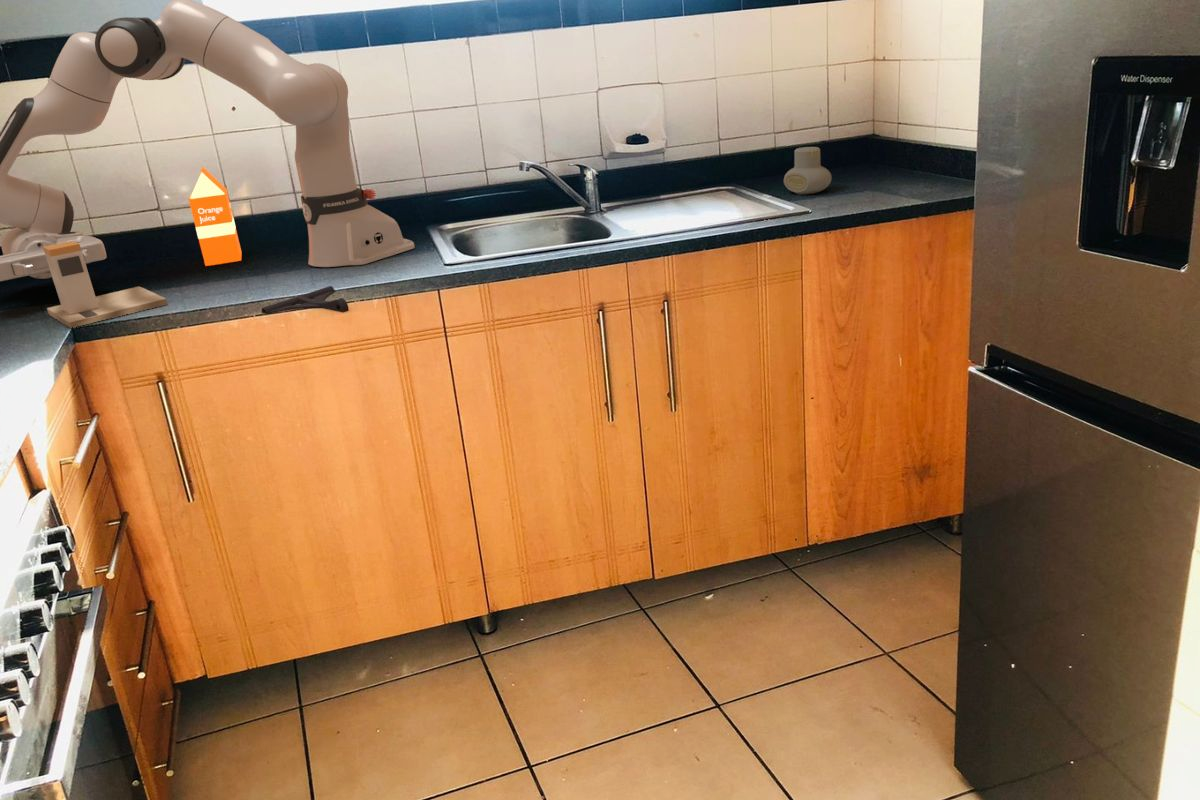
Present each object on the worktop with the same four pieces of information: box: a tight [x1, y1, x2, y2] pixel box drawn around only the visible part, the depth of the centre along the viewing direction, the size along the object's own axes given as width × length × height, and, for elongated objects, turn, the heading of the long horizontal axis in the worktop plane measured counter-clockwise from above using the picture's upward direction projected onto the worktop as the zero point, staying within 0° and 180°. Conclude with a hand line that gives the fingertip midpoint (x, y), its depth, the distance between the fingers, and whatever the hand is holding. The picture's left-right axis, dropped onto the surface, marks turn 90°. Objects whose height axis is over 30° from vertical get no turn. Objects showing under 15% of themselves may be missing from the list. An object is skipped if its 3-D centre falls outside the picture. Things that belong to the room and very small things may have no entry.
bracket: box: [260, 285, 349, 315], centre depth 167 cm, size 14×15×3 cm
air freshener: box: [783, 146, 833, 196], centre depth 221 cm, size 11×8×10 cm
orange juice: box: [188, 166, 243, 267], centre depth 208 cm, size 8×9×20 cm
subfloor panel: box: [46, 286, 168, 329], centre depth 179 cm, size 17×16×1 cm
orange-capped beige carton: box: [43, 241, 99, 315], centre depth 173 cm, size 5×5×12 cm
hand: (57, 264), depth 178 cm, fingers open, 8 cm apart
